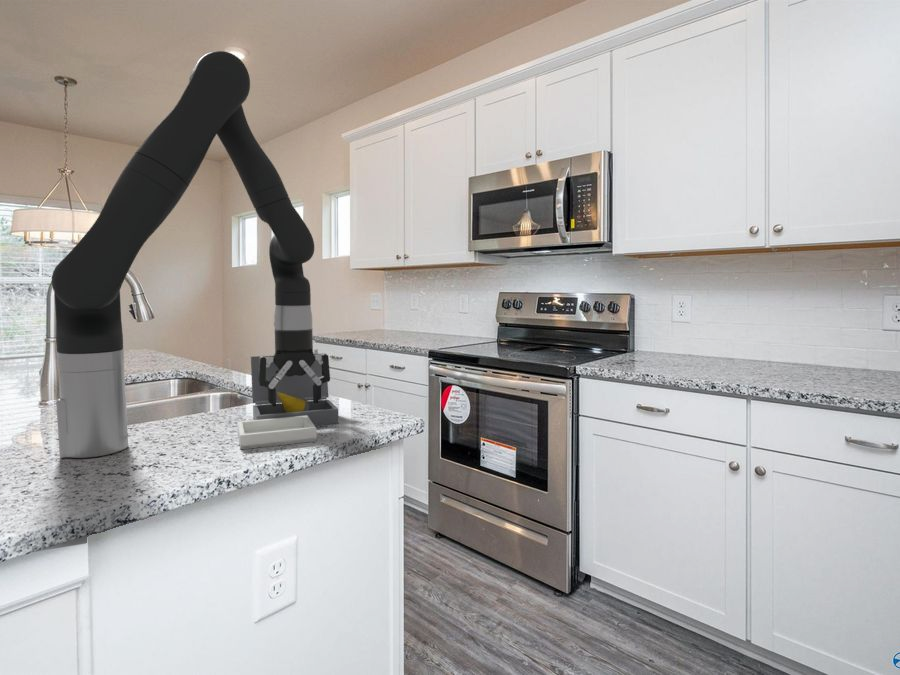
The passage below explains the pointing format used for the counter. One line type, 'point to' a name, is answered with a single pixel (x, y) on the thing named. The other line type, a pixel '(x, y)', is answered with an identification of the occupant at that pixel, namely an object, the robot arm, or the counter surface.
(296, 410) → the drill bit
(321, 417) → the case
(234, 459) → the counter surface
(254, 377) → the lid
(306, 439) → the tray
